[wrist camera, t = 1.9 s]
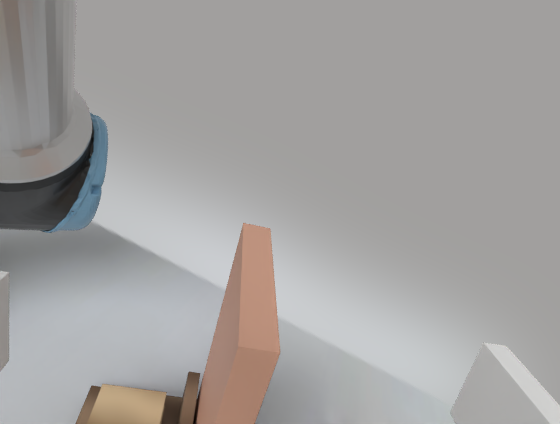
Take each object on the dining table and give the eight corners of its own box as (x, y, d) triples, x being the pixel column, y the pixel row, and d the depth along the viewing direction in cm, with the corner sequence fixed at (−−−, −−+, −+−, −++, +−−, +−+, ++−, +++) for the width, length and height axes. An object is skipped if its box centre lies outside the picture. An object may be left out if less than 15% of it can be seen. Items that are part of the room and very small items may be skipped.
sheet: (194, 408, 38) (243, 222, 30) (216, 411, 38) (270, 228, 30) (172, 566, 27) (238, 346, 19) (202, 568, 28) (280, 352, 19)
